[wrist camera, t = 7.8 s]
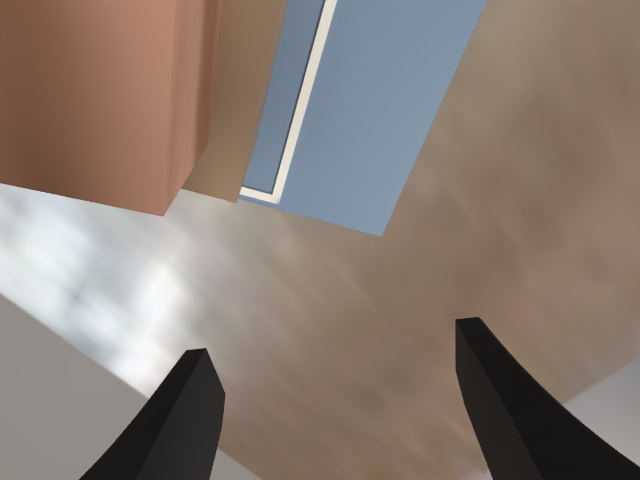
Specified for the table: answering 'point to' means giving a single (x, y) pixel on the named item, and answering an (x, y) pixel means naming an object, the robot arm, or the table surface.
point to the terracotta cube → (106, 97)
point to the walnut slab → (238, 95)
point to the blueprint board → (354, 104)
